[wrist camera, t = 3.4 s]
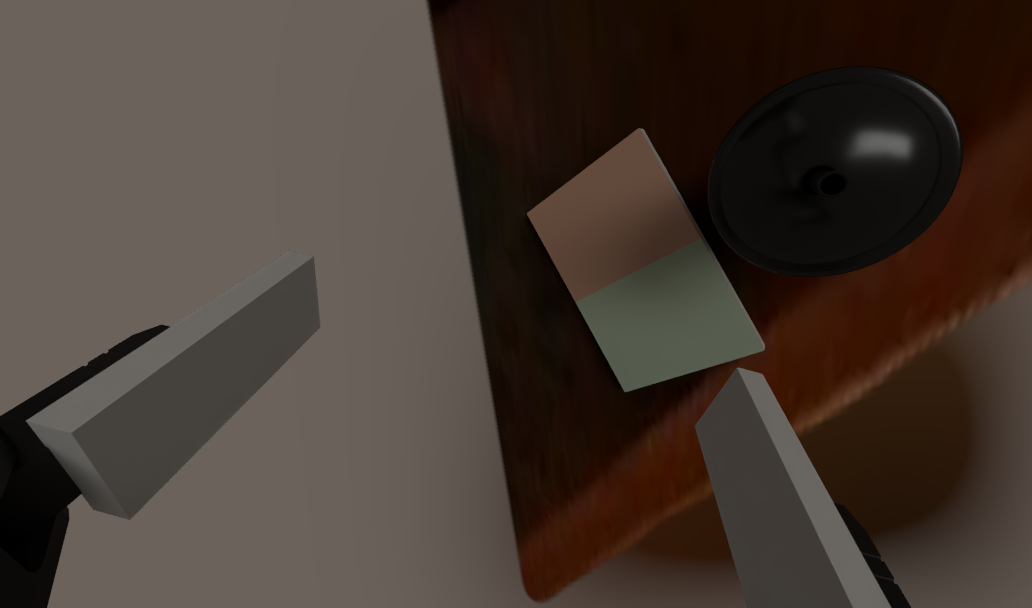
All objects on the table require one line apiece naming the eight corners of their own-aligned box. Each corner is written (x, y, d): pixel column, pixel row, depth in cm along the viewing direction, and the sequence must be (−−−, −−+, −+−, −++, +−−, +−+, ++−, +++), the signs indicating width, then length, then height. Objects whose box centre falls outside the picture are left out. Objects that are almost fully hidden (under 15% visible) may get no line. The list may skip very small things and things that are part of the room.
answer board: (533, 212, 38) (526, 213, 37) (643, 129, 30) (638, 128, 29) (628, 386, 37) (624, 392, 36) (765, 344, 30) (764, 350, 29)
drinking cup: (791, 257, 27) (799, 376, 11) (713, 180, 29) (624, 192, 13) (917, 170, 23) (1215, 169, 7) (817, 84, 24) (878, -79, 8)
